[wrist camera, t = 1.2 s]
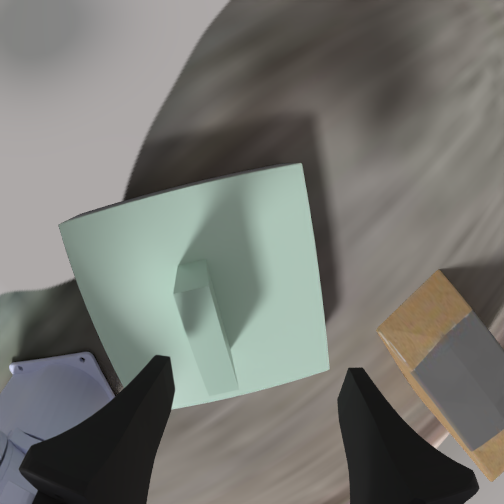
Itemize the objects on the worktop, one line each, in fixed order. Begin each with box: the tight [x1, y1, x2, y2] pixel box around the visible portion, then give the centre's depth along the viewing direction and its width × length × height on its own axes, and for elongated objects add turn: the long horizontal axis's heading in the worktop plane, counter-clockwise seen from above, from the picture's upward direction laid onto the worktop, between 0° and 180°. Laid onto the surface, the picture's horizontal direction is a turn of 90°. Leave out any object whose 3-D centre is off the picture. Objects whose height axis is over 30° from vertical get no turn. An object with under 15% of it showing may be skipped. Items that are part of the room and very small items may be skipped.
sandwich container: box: [376, 270, 504, 482], centre depth 21 cm, size 9×15×15 cm, turn 39°
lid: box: [59, 163, 329, 409], centre depth 17 cm, size 14×14×5 cm
